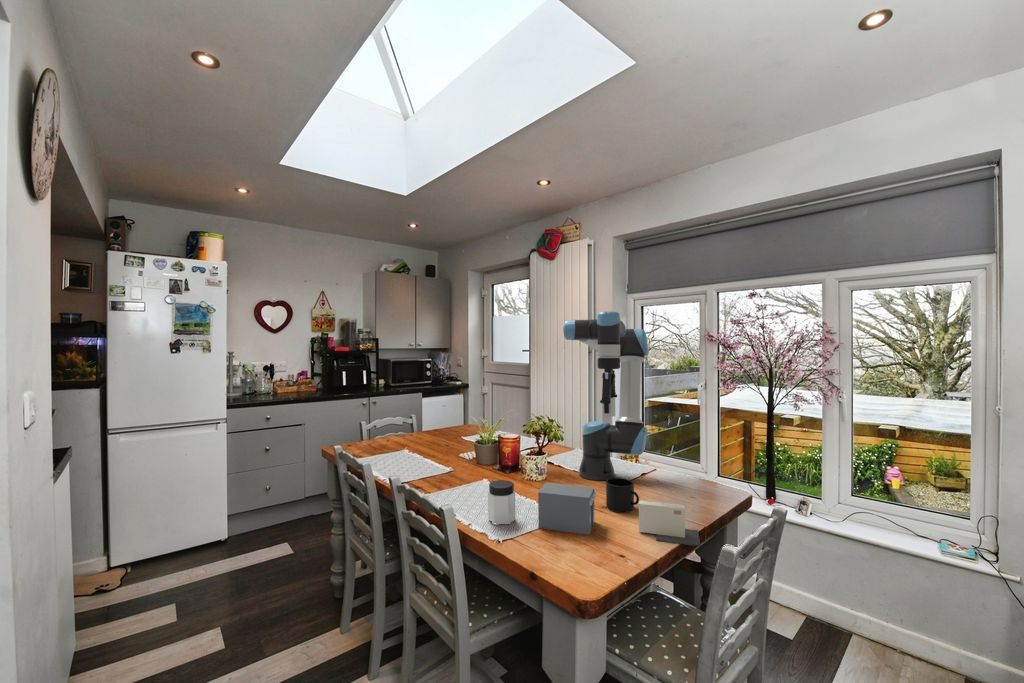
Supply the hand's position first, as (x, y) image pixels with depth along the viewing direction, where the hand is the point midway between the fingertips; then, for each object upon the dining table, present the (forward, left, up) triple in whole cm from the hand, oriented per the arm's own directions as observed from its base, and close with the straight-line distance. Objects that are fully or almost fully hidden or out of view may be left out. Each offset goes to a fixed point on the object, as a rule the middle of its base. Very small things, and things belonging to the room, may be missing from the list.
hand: (609, 419), depth 148 cm
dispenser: (+14, -12, -32) cm, 37 cm away
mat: (+12, +21, -32) cm, 40 cm away
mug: (-5, +4, -32) cm, 33 cm away
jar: (+17, -33, -32) cm, 49 cm away
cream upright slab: (+12, +17, -31) cm, 37 cm away
